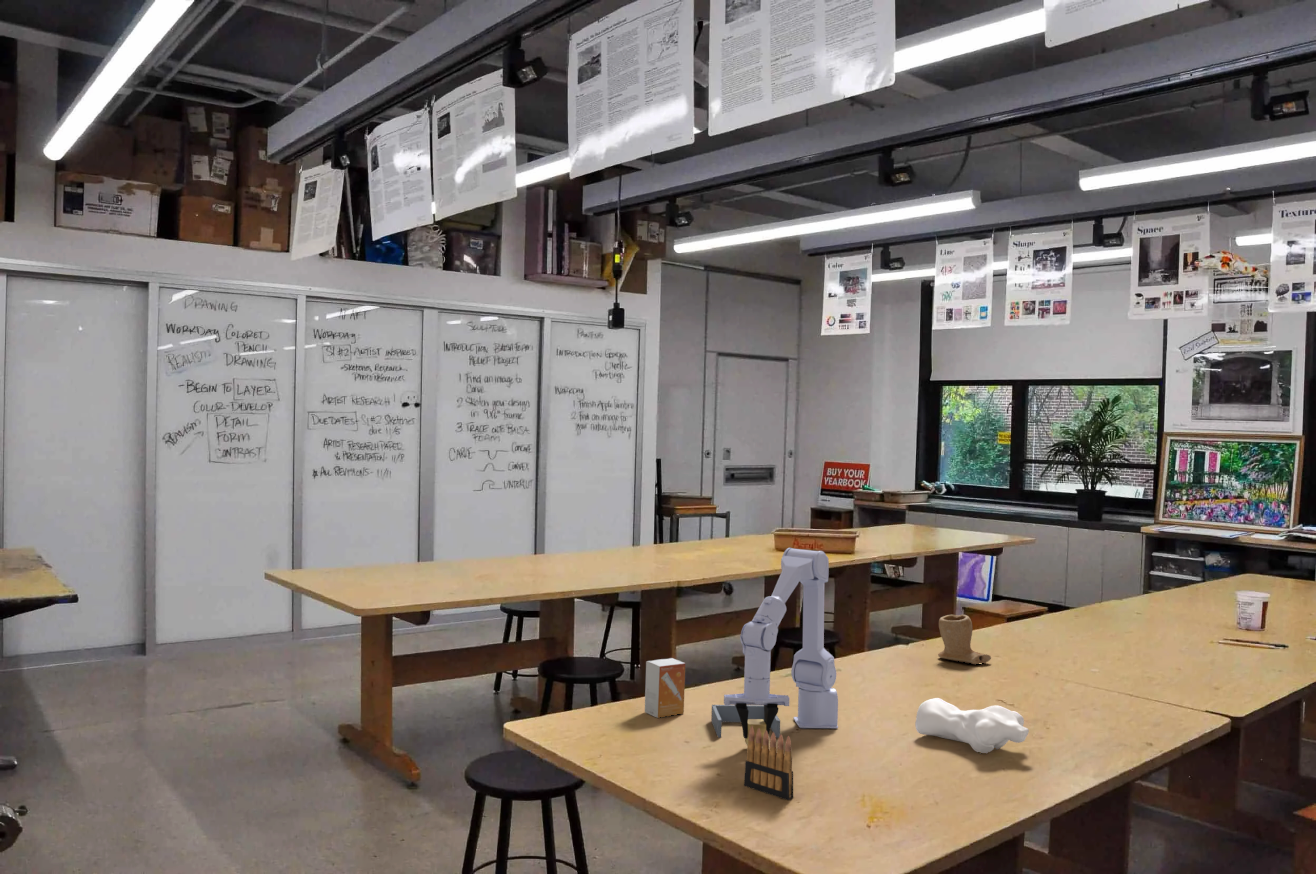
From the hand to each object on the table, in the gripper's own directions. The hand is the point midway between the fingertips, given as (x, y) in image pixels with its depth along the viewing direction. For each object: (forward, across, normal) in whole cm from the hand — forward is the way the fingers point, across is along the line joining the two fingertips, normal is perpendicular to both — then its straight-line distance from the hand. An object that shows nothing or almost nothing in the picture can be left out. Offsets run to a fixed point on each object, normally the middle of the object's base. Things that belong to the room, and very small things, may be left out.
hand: (755, 737), depth 214 cm
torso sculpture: (+3, +52, +4) cm, 52 cm away
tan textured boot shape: (+3, +81, +89) cm, 121 cm away
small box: (+3, -18, +28) cm, 34 cm away
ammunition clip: (+3, -2, -25) cm, 25 cm away
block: (+2, 0, 0) cm, 2 cm away
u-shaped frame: (+3, 0, +15) cm, 15 cm away
